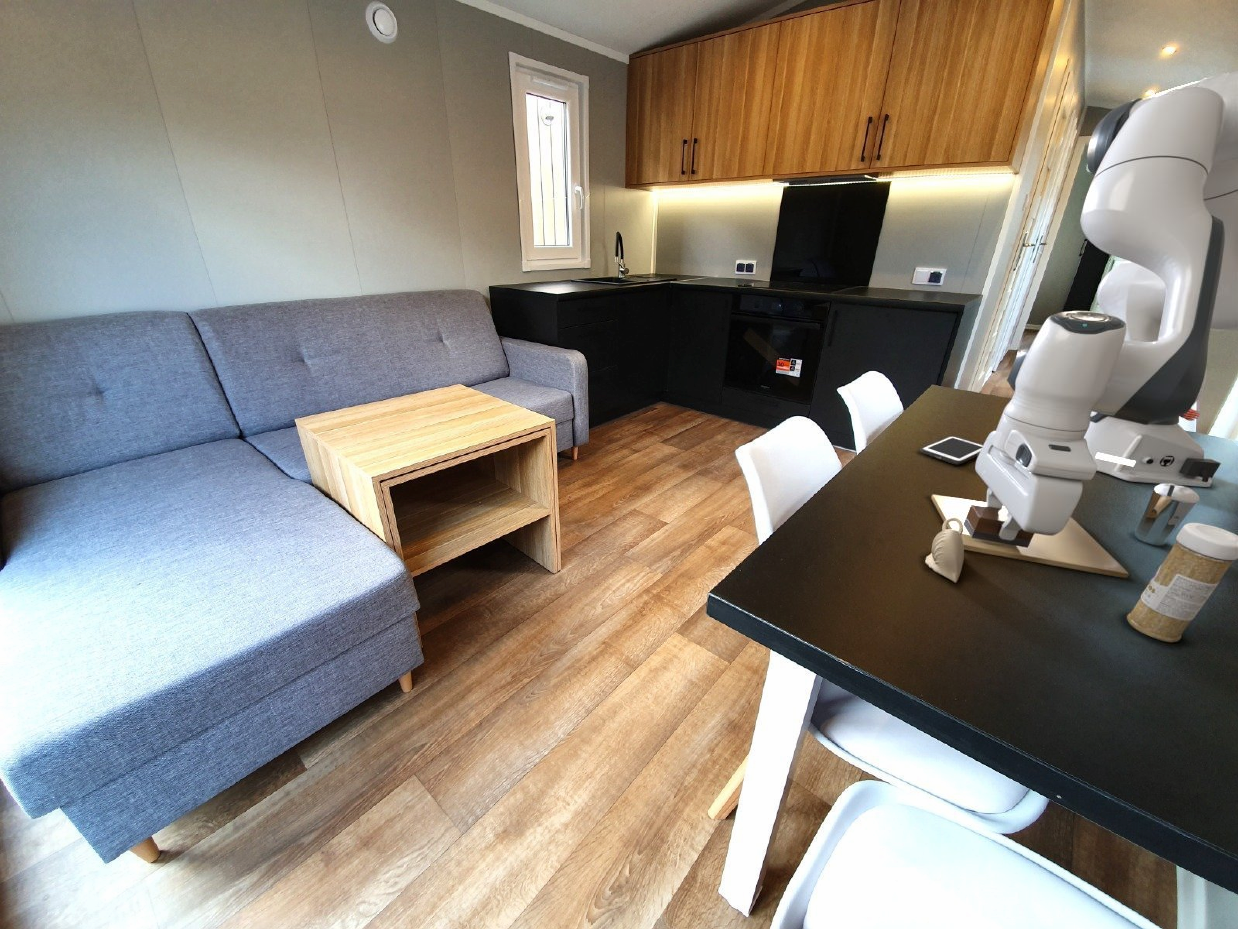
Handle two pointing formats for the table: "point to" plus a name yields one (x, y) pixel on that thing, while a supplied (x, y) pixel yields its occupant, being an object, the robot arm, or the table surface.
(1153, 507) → the silver metal cylinder
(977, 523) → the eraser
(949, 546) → the decorative ornament
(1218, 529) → the sprinkles bottle
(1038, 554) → the writing board
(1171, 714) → the table surface
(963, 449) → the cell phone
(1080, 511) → the table surface
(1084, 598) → the table surface
